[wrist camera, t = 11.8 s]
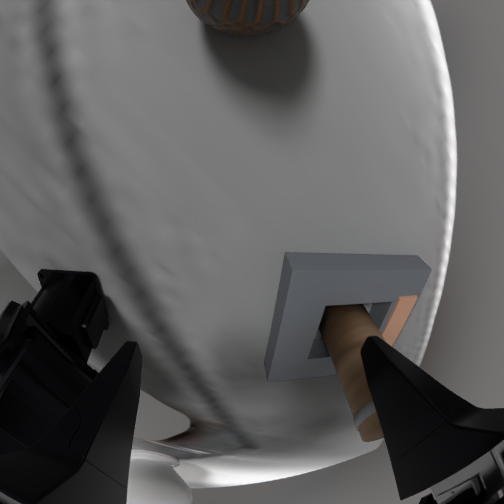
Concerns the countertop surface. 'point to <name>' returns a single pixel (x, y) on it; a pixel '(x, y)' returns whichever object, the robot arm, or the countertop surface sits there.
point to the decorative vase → (155, 480)
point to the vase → (247, 14)
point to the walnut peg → (352, 361)
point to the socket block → (336, 293)
